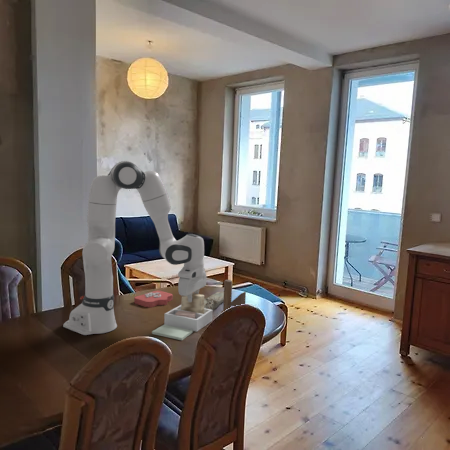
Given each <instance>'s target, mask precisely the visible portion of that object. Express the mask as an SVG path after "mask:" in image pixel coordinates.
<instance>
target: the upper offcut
mask: <svg viewBox="0 0 450 450" xmlns="http://www.w3.org/2000/svg"><path fill="white" fill-rule="evenodd" d="M176 315H178V316H183V317H188V318H193V319H196V312H186V311H178V312H177V313H176Z"/></svg>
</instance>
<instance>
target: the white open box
mask: <svg viewBox="0 0 450 450" xmlns="http://www.w3.org/2000/svg"><path fill="white" fill-rule="evenodd" d="M178 311H185V310H181V304H179V305H178V306H176V307H174V308H172V309H170V310H169V311H167V312H164V324H163V325H169V326H174V327H178V328H183V329H188V330H193V332H198V331H200V330H202V328H204V327H205V326H207V325H208V324H209V323H211V322H212V321H213V315H214V314H213V312H214V310H211V309H205V308H204V314H200V313H196V319H193V318H188V317H183V316H178V315H176V313H177V312H178ZM186 312H190V311H186Z"/></svg>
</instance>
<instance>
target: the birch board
mask: <svg viewBox="0 0 450 450" xmlns="http://www.w3.org/2000/svg"><path fill="white" fill-rule="evenodd" d="M192 298H193V301H192V302H188V297H187V296H182V295H181V300H180V301H181V303H180V305H181V310H185V311H190V312H196V313H200V314H204V299H205V295H204V294H200V293H198V294H196V293H194V292H193V293H192Z"/></svg>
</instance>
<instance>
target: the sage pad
mask: <svg viewBox="0 0 450 450" xmlns="http://www.w3.org/2000/svg"><path fill="white" fill-rule="evenodd" d="M193 332H194V331H193V330H188V329H183V328H178V327H174V326H169V325H164V324H163V325H161V326H159V327H157V328H156V329H154V330H152V331H151V334H152V335H156V336H161V337H165V338H170V339H174V340H179V341H183V340H185V339H186V338H187V337H188V336H190V335H192V334H193Z"/></svg>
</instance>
